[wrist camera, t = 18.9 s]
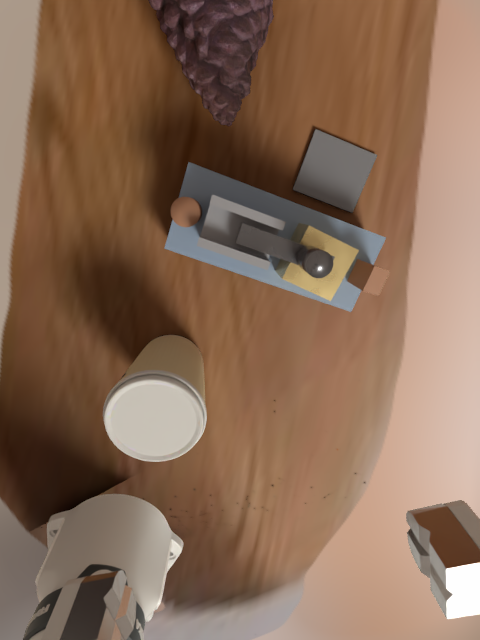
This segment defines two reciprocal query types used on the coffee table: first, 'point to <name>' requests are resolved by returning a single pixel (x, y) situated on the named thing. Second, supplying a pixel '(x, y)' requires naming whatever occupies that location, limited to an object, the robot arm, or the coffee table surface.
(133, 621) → the robot arm
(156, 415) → the coffee cup
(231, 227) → the plane body
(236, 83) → the pine cone
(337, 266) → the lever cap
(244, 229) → the ball-knob lever
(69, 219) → the coffee table surface
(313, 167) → the mat
